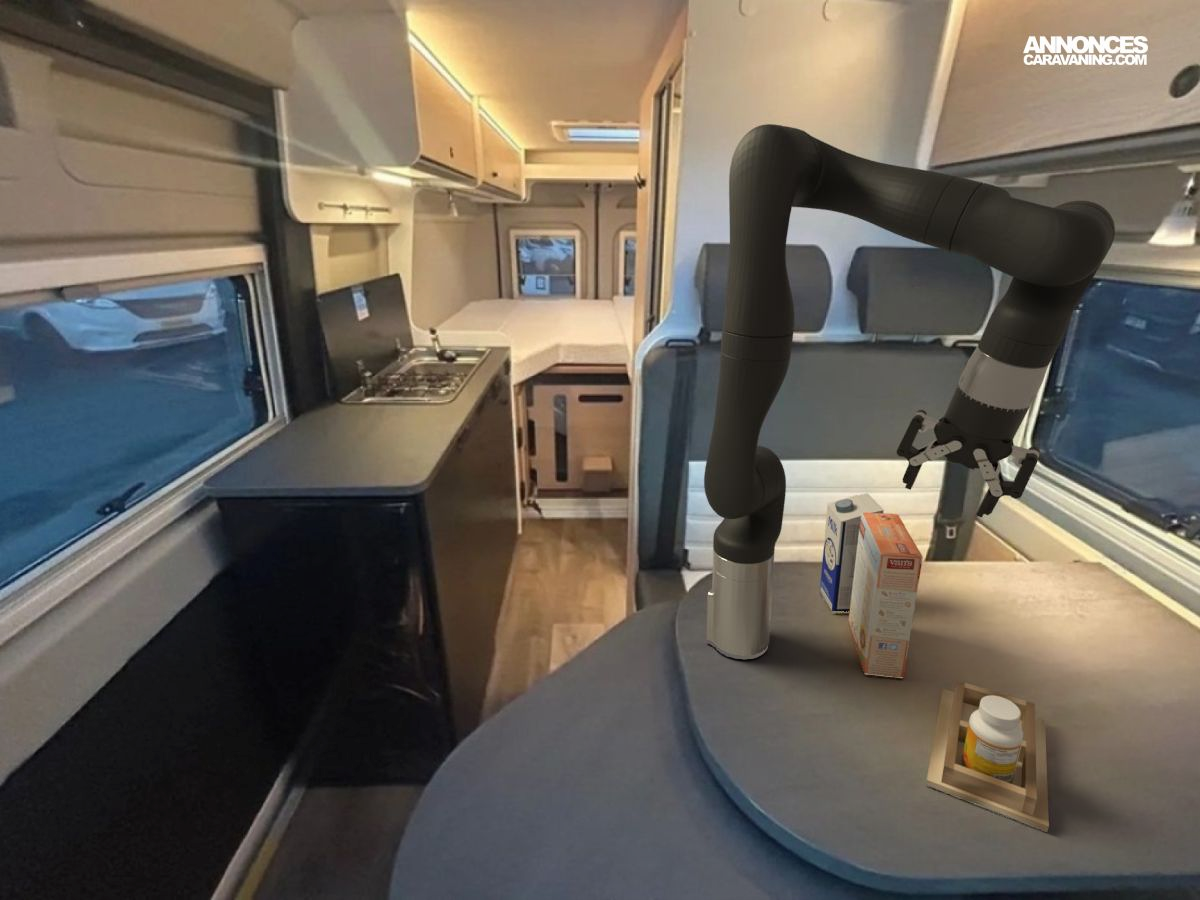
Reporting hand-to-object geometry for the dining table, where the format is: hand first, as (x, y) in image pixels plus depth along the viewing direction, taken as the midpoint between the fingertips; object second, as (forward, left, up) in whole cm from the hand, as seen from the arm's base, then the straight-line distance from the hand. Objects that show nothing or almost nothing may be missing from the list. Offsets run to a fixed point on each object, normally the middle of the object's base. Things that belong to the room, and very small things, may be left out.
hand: (943, 499), depth 80 cm
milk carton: (-13, +18, -30) cm, 38 cm away
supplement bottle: (+9, -12, -29) cm, 33 cm away
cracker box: (-6, +7, -30) cm, 32 cm away
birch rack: (+10, -8, -30) cm, 33 cm away
